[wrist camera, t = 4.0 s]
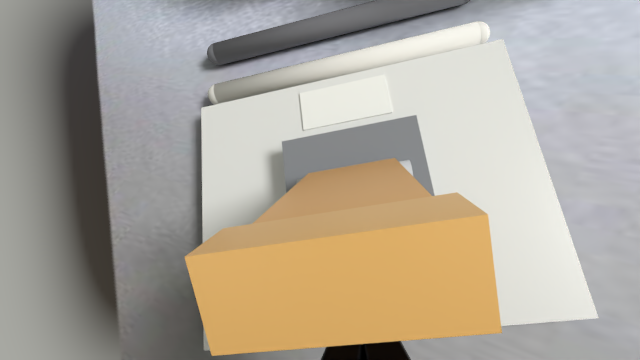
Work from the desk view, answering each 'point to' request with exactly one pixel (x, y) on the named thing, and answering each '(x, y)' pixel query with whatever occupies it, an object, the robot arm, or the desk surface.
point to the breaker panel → (424, 154)
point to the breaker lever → (348, 266)
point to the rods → (389, 6)
